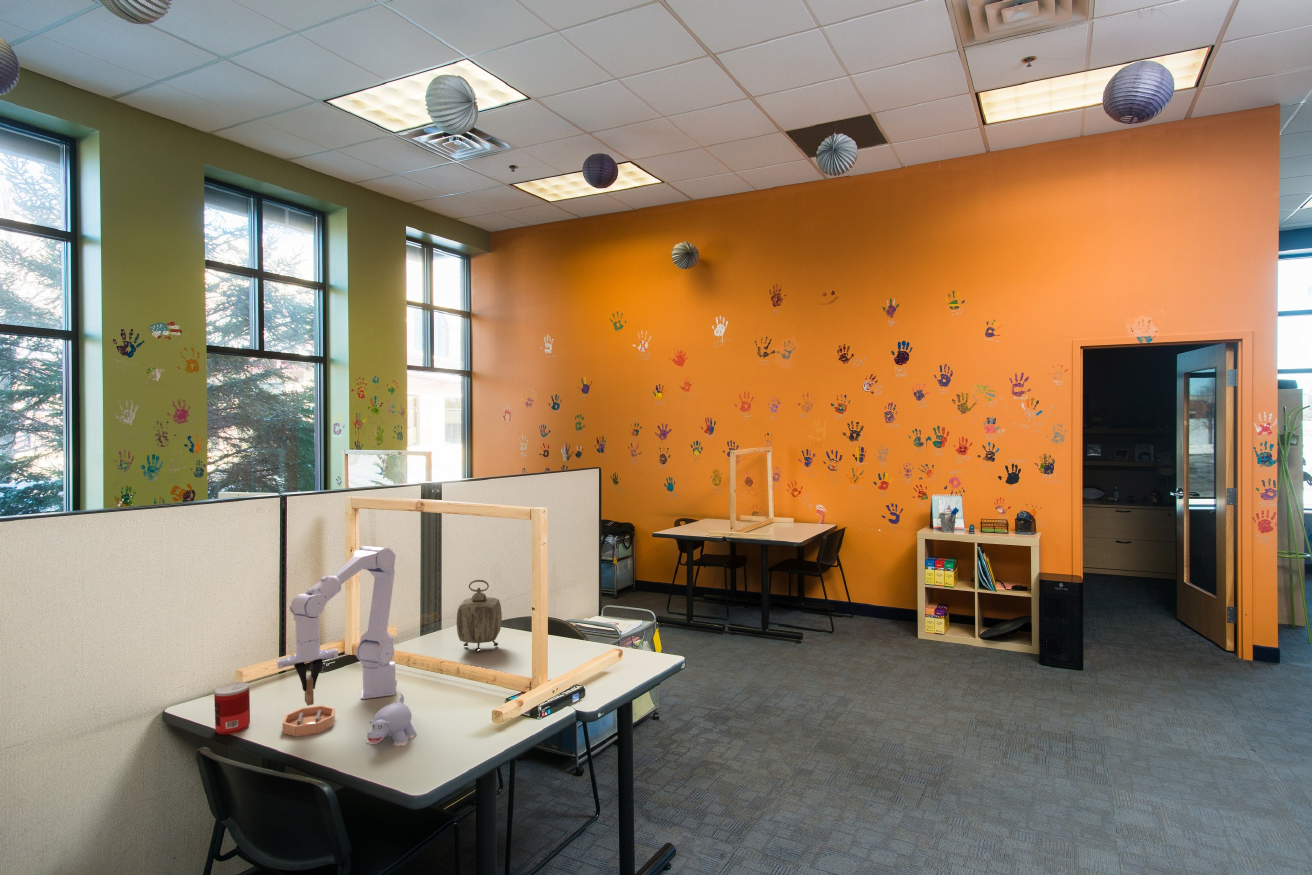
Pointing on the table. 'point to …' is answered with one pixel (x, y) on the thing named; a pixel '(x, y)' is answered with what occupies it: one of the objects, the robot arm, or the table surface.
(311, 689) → the brown rectangular block
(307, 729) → the dish
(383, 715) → the hippopotamus toy
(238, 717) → the canned food
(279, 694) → the table surface
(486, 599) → the tabletop clock
